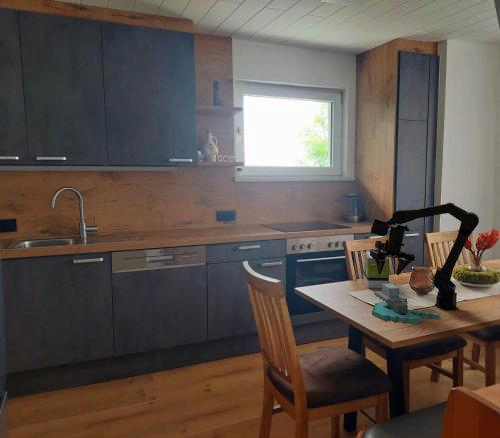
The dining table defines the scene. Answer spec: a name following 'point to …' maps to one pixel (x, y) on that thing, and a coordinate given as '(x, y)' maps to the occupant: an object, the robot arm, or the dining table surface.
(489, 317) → the dining table surface
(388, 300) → the graphite chip
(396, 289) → the sanding block
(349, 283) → the dining table surface
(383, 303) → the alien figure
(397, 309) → the graphite chip
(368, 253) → the tea box
